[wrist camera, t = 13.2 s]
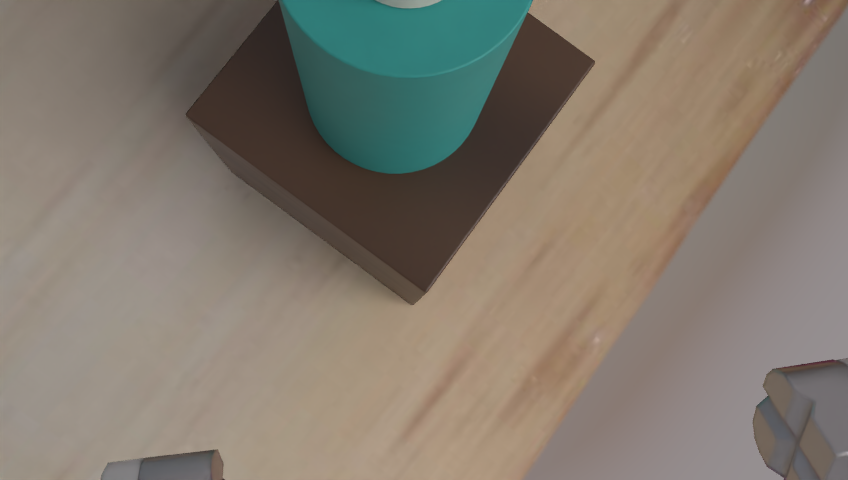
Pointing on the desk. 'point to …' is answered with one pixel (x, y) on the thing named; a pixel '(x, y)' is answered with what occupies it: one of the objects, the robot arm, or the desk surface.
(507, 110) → the stand
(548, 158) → the desk surface
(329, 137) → the detergent bottle
